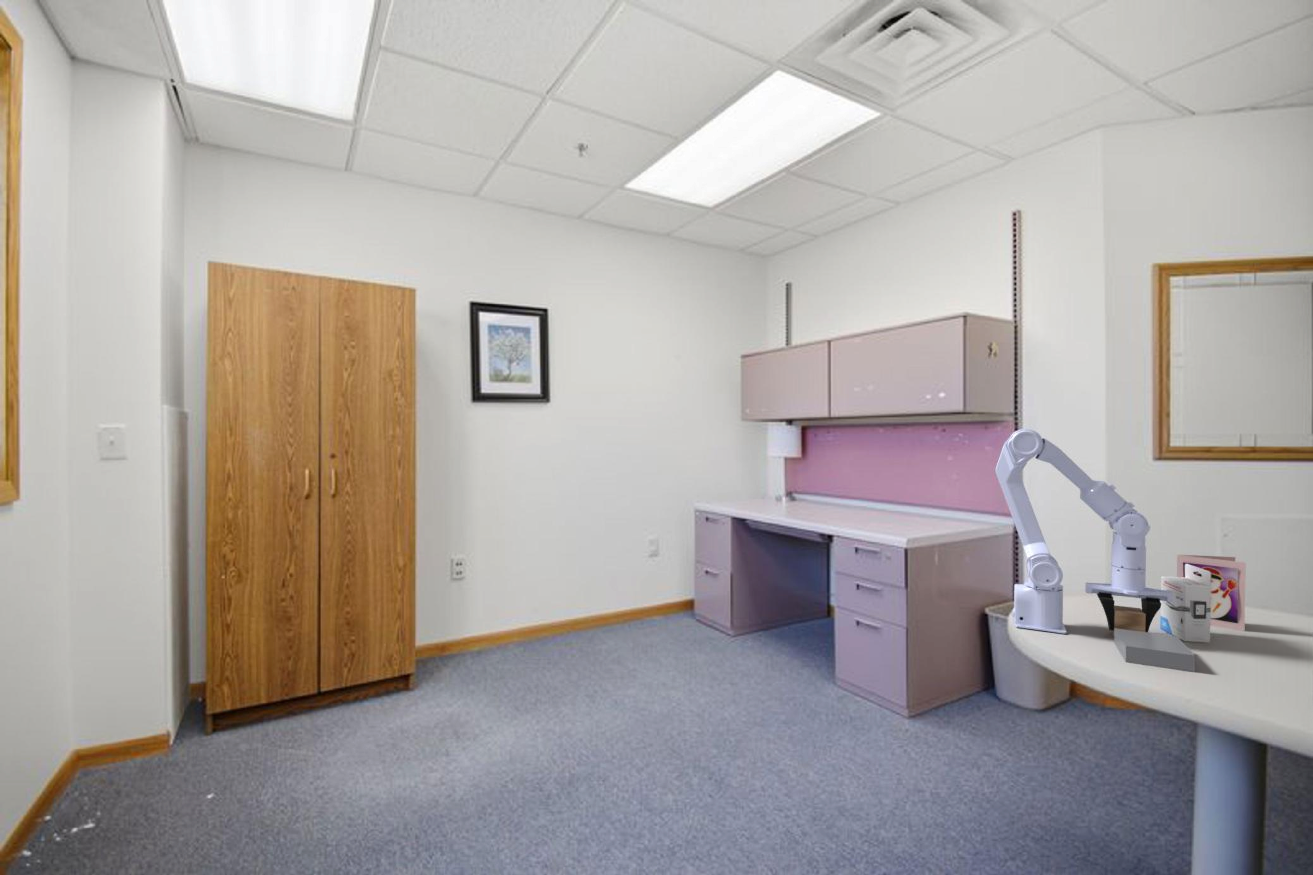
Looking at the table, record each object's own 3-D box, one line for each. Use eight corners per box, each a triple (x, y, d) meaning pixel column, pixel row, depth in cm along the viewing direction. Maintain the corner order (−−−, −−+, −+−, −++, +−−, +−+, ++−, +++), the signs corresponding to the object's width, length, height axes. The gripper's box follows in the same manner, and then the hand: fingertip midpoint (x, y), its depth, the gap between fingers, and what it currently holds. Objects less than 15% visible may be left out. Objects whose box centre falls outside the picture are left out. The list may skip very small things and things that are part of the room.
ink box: (1158, 628, 135) (1159, 561, 134) (1184, 630, 134) (1185, 562, 133) (1183, 641, 126) (1184, 570, 126) (1211, 643, 125) (1212, 571, 125)
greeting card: (1175, 619, 141) (1176, 555, 141) (1180, 613, 146) (1181, 551, 146) (1244, 632, 133) (1245, 563, 132) (1247, 624, 138) (1247, 558, 137)
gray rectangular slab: (1125, 661, 115) (1125, 645, 115) (1114, 642, 125) (1114, 628, 125) (1194, 672, 110) (1195, 655, 110) (1176, 651, 120) (1176, 636, 120)
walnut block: (1114, 639, 127) (1115, 610, 127) (1110, 632, 132) (1111, 605, 131) (1145, 643, 125) (1145, 614, 125) (1139, 636, 129) (1140, 608, 129)
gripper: (1089, 566, 128) (1088, 631, 128) (1177, 574, 121) (1177, 642, 121) (1084, 560, 134) (1083, 621, 134) (1168, 567, 127) (1167, 632, 127)
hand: (1127, 631), depth 128 cm, fingers closed on walnut block, 5 cm apart
